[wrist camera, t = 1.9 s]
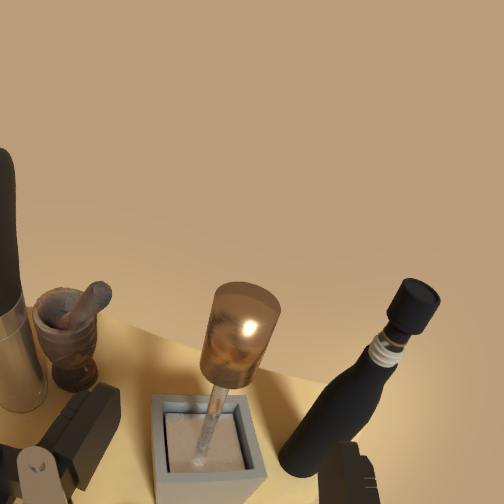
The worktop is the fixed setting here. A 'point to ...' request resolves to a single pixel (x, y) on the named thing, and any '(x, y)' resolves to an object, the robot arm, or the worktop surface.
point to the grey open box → (210, 483)
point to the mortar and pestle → (71, 332)
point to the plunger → (223, 378)
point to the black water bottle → (359, 383)
